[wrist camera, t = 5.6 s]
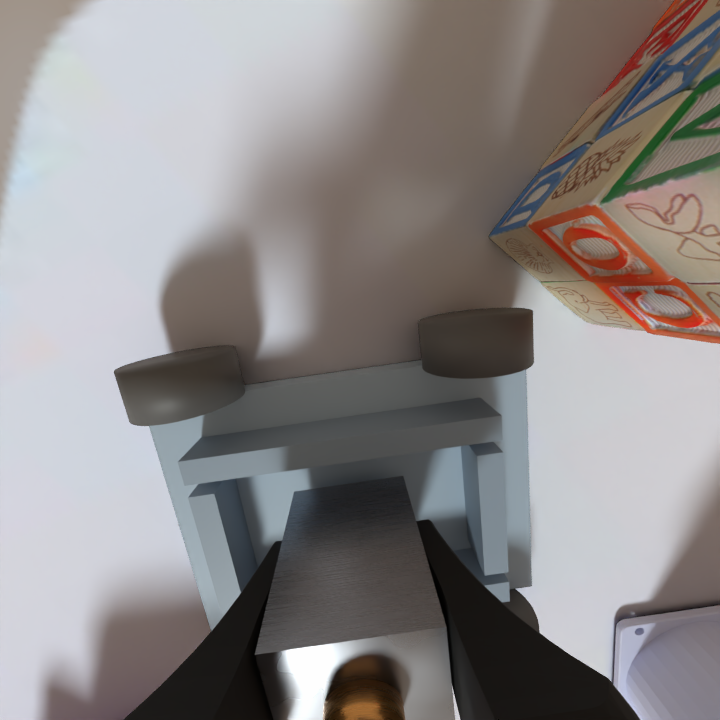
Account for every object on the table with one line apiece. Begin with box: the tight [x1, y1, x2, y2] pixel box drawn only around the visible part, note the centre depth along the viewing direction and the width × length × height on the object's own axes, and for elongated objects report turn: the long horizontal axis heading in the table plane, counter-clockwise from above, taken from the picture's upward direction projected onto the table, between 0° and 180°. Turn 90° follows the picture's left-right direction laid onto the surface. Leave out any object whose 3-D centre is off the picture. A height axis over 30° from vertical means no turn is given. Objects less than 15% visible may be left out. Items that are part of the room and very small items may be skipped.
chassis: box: [114, 308, 539, 632], centre depth 14 cm, size 16×16×4 cm
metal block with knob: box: [255, 476, 455, 720], centre depth 11 cm, size 4×4×7 cm
